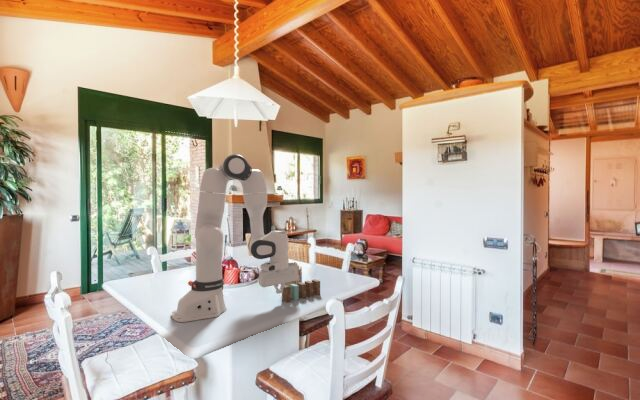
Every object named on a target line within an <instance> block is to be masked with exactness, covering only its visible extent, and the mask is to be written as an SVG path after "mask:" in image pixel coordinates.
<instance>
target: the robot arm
mask: <svg viewBox="0 0 640 400" xmlns="http://www.w3.org/2000/svg"><path fill="white" fill-rule="evenodd" d="M201 177H202V178H201V182H200V186H199V187H200V188H199V193H198V194H199V195H198V208H197V213H196V214H197V215H196V220H195V221H196V222H195V228H194V239H195V246H196V248H195V280H194V281H192V280H189V281H187V285H188V286H189V287H190V288H191V289H190V290H189V291H187V293H185V294H184V295H183V296H182V297H181V298H179V300H178V303H177V305H176V306H177V307H176V309H174V310H173V311H172V312H171V318H172V320H173V321H175V322H177V323H188V322H193V321H197V320H198V321H200V320H205V319H211V318H217V317H220V315H221V314H222V313H224V312H225V311H227V307H226V303H225V299H224V292H223V291H224V278H223V253H224V252H223V251H224V234H223V233H224V232H223V231H222V222H223V218H224V217H223V216H224V213H225V204H226V195H227V194H226V193H227V192H226V191H227V185H228V182H229V181H238V182H240V184H241V187H242V196H243V197H242V198H243V202H244V206H245V209H246V211H247V214H248V217H249V225H250V237H249V241H248V244H247V247H248V250H249V252H250V254H251V256H253V257H254V258H255V259H257V260H265V259H269V260H268V261H266V262H263V263H262V264H260V267H259V268H260V271H259V274H258V285H259V286H260V287H262V288H268V287H271V286H272V287H274V290H275V293H276V294H282V293H283V289H284V287H285V283H288V282H293V281H297V280H298V278H299V275H298V265H299V264H298V263H297V262H295V261H291V262H289V261H290V260H289V259H290V258H289V255H288V253H289V237H288V234H287V233H286V232H284V231H283V230H278V229H277V230H276V229H273V230H271V231H270V232H269V233H267V234H265V232H264V231H265V230H264V214H265V211H266V209H267V206H268V190H267V189H268V188H267V183H266V179H265V175H264V173H263V171H262V170H259V169H255V168H254V169H253V168H252V166H251V165H250V163H249V162H248V160H247V159H246V158H245V157H244V156H243V155H240V154H238V153H237V154H230V155H229V156H226V158H224V159H223V161H222V162H221V164H220V165H219V167H209V168H207V169H205V170H204V172H203V174H202V176H201ZM279 285H280V288H279Z"/></svg>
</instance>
